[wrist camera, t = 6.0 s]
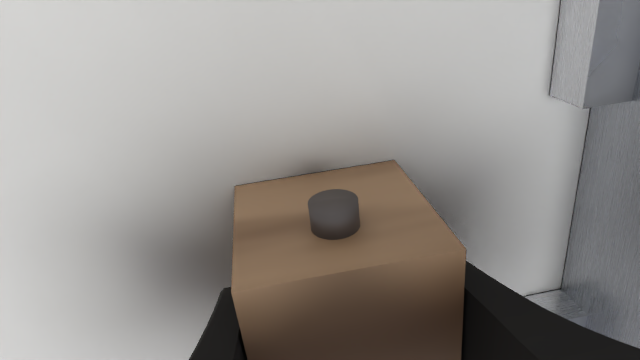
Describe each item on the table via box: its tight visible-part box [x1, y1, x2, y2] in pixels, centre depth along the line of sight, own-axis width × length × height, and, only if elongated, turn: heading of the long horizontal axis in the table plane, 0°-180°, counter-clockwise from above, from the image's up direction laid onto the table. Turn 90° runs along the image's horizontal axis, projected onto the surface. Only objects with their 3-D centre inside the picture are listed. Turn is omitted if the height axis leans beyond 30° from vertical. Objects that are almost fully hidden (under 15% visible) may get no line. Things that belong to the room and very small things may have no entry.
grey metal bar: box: [525, 0, 640, 349], centre depth 14 cm, size 16×4×4 cm, turn 6°
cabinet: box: [231, 160, 466, 360], centre depth 12 cm, size 6×5×5 cm
